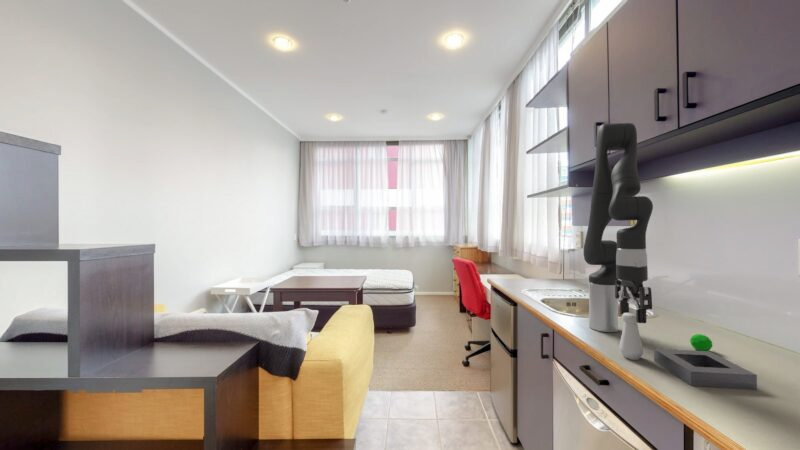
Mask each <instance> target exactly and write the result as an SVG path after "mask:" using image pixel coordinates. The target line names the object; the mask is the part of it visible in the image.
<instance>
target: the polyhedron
mask: <svg viewBox="0 0 800 450" xmlns="http://www.w3.org/2000/svg"><path fill="white" fill-rule="evenodd" d="M689 341H690V345H691V346H692V348H694V349H695V350H696V351H710V350H711V349H712V348H713V342H712V340H711V338H709V337H708V336H706V335H705V334H701V333H697V334H694V335H692V336H691V338H690V340H689Z"/></svg>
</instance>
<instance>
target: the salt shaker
mask: <svg viewBox="0 0 800 450" xmlns="http://www.w3.org/2000/svg"><path fill="white" fill-rule="evenodd" d="M621 318H622V321H623V327H622V331H621V336H620V341H619V350H620V352H621V355H622V356H623V358H625V359H629V360H631V361H640V359H641V357H642V356H643V354H644V348H643V343H642V339H641V335H640V331H639V323H638V322H637V321H636V313H634V312H629V313H624V314H621Z"/></svg>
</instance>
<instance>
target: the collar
mask: <svg viewBox="0 0 800 450" xmlns="http://www.w3.org/2000/svg"><path fill="white" fill-rule="evenodd" d="M653 360H654V362H655V363H657V364H658V365H659V366H661V367H662V368H664V369H665V370H667V371H669V372H670V373H671V374H673V375H674V376H675V377H677V378H679V379H680V380H682V381H683V382H684V383H686V384H687V385H689V386H690V387H691V386H692V387H708V388H726V389H741V390H743V389H744V390H756V391H757V390H758V375H757V374H756V373H753V372H752V371H750V370H748V369H746V368H743V367H742V366H739V365H738V364H735V363H734V362H731V361H730V360H727V359H725V358H723V357H722V356H719V355H717V354H715V353H714V352H711V351H710V350H709V351H699V350H689V349H687V350H686V349H666V348H664V349H662V348H653Z"/></svg>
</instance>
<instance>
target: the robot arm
mask: <svg viewBox="0 0 800 450" xmlns="http://www.w3.org/2000/svg"><path fill="white" fill-rule="evenodd" d="M637 133H638V132H637V128H636V125H635V124H634V123H632V122H621V123H620V122H618V123H617V122H616V123H603V124H601V125H599V128H598V130H597V135H596V144H595V147H596V148H595V165H594V167H595V168H594V176H593V184H592V190H591V198H590V199H591V200H590V211H589V218H588V219H589V221H588V226H587V231H586V236H585V239H584V240H585V241H584V245H583V258H584V261H585V262H586V264H588V265H591V266H600V268H599V269H598V270H597V271H594V272H592V273H590V274H589V275H588V298H589V299H588V309H589V310H588V313H589V314H588V317H589V318H588V325H589V326H588V327H589V328H590V329H593V331H599V332H605V333H616V332H618V331H619V314H620V315H622V314H624V313H630V305H629V304H630V303H629V302H630V300H631V302H632V303H634V306H635V308H636V309H635V311H636V312H635V314H636V321H637V322H638V323H637V324H646V323H647V311H648V310H652V309H653V296H652V288H651V287H650V286H649V287H648V286H646V287H645V286H644V283H643V282H646V281H648V280H649V279H648V278H649V277H648V276H649V275H648V274H649V273H648V271H649V270H648V268H649V267H648V254H647V242H646V241H647V239H646V235H647V230H648V224H649V222H650V219H651V217H652V214H653V209H654V205H653V201H652V200H651V199H650V198H649V197H648V196H645V195H644V196H643V195H642V196H640V195H639V196H636V195H638V194H639V193H640V191H641V182H640V181H641V180H640V178H639V173H638V172H639V171H638V163H637V162H638V159H637V158H638V134H637ZM609 151H612V152H613V151H623V152H624V153H623V155H622V157H621V158H620V159H619V160H618V162H617V163H616V164H615V165H614V166H613V168H612V167H611V165H610V161H609V155H608V152H609ZM612 220H615V221H636V223H635V224H634V225H633V226H631V227H626V228H625V227H624V228H621V229H620V228H619V229H618V230H617V231H616V241H615V240H610V239H609V240H607V239H606V240H604V239H603V235H604V232H605V230H606V228H607V225H609V223H610V222H611V221H612ZM602 239H603V240H602Z"/></svg>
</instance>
